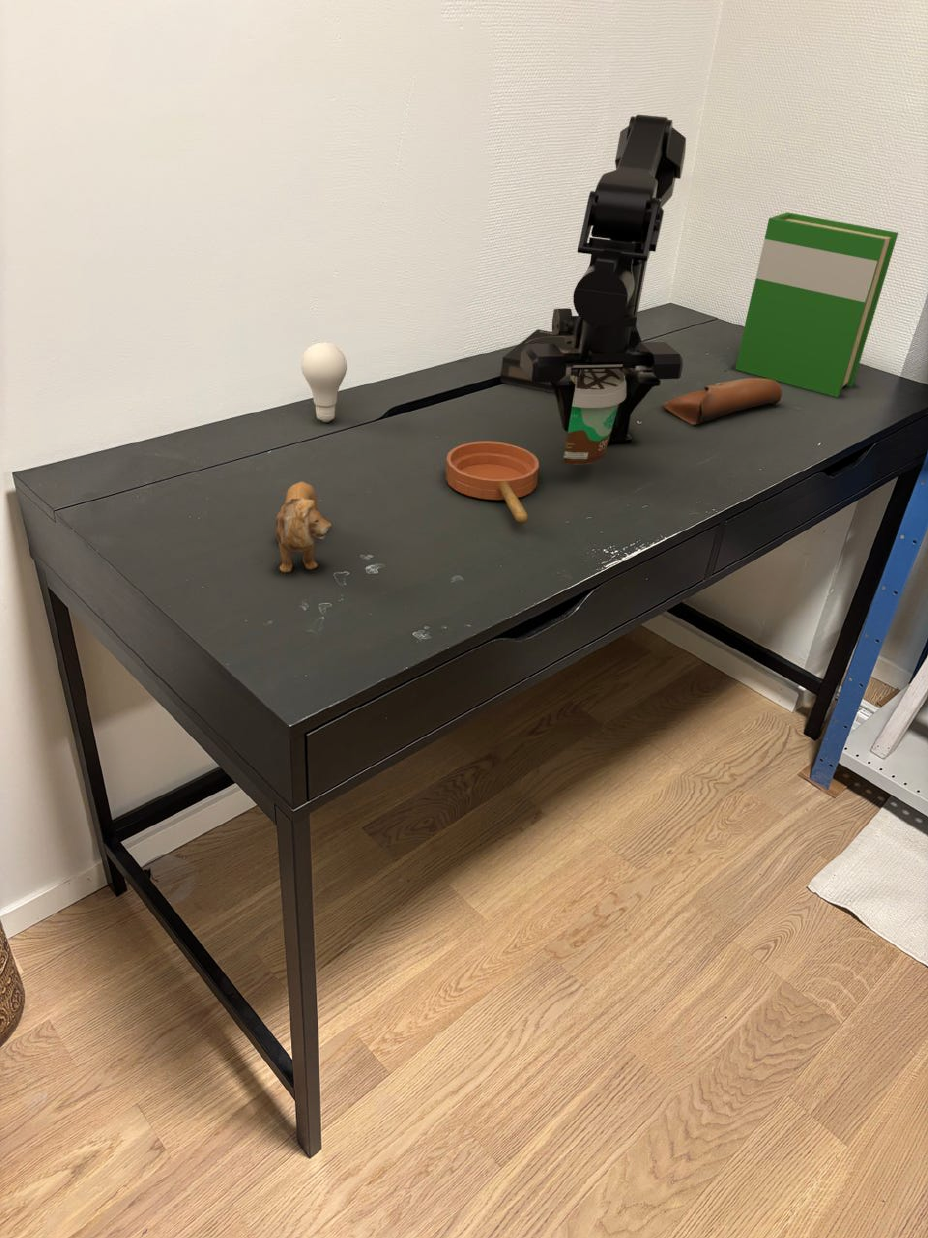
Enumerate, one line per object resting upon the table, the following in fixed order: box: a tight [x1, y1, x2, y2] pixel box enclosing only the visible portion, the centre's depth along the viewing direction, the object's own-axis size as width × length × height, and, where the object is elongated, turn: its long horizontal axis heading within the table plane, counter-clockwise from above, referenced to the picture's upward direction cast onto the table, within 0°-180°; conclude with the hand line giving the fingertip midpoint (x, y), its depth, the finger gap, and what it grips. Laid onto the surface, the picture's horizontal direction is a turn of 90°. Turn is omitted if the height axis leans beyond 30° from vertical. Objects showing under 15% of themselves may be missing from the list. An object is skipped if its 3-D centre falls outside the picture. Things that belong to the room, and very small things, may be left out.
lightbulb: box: [300, 341, 348, 423], centre depth 128 cm, size 6×6×11 cm
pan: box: [445, 440, 540, 501], centre depth 118 cm, size 11×11×3 cm
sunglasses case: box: [663, 377, 783, 426], centre depth 143 cm, size 18×7×7 cm, turn 125°
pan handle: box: [499, 481, 529, 524], centre depth 110 cm, size 1×9×1 cm, turn 13°
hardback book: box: [734, 211, 899, 398], centre depth 151 cm, size 18×7×24 cm, turn 53°
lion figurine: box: [274, 481, 332, 573], centre depth 99 cm, size 15×5×9 cm, turn 13°
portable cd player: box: [499, 328, 579, 394], centre depth 151 cm, size 16×17×4 cm
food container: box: [562, 369, 627, 465], centre depth 116 cm, size 12×6×10 cm, turn 170°
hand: (592, 428), depth 117 cm, fingers closed on food container, 6 cm apart
